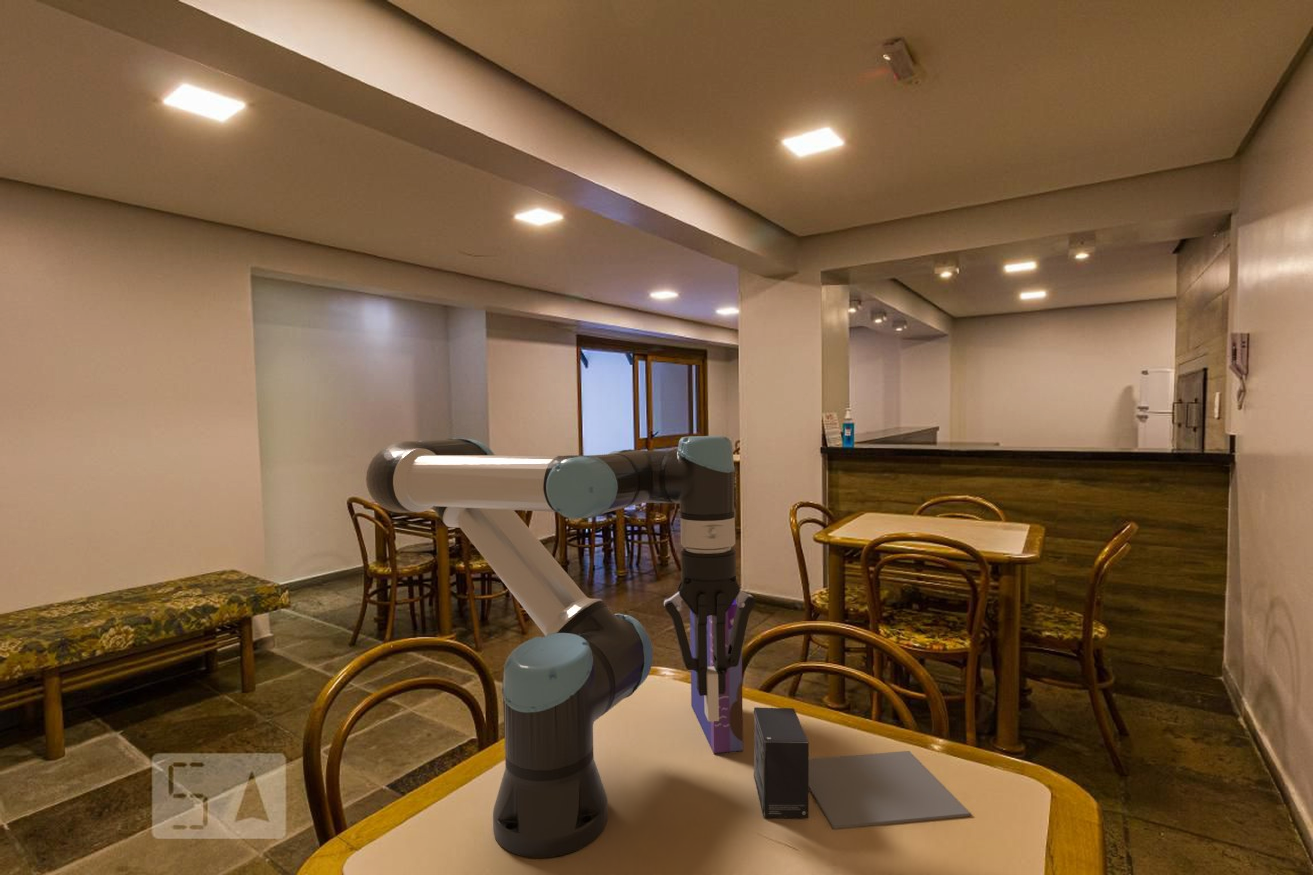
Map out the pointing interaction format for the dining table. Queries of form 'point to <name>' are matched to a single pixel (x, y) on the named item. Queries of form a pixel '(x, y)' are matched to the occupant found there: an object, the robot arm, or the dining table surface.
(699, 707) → the cereal box
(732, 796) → the dining table surface
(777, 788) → the small box
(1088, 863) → the dining table surface
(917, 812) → the mat
